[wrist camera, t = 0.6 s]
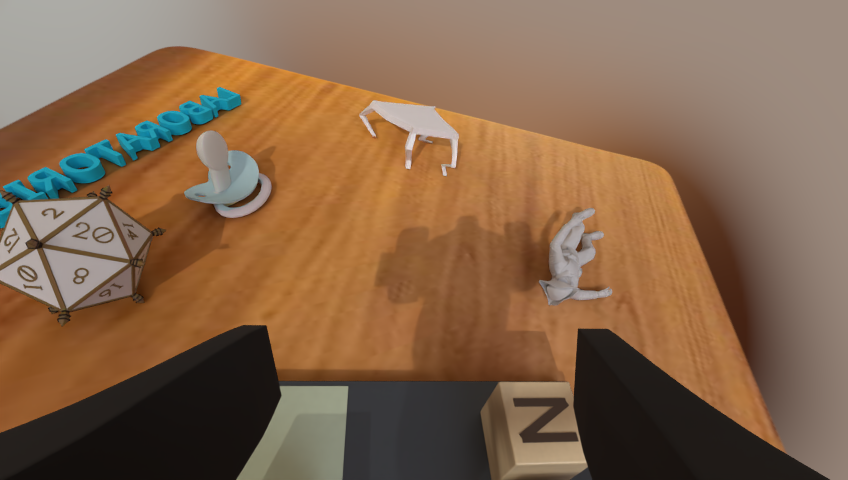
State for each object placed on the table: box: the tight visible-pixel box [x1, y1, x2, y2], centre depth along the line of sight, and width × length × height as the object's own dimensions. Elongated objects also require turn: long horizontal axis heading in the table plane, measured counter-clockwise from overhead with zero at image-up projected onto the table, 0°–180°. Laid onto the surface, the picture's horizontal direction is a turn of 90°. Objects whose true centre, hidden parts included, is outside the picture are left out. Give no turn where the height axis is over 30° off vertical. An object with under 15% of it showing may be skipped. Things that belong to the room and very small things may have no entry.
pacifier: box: [184, 131, 272, 218], centre depth 35 cm, size 7×6×6 cm
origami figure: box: [359, 100, 459, 176], centre depth 45 cm, size 12×8×5 cm
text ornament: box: [0, 87, 241, 228], centre depth 32 cm, size 45×3×1 cm, turn 156°
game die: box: [0, 185, 166, 326], centre depth 25 cm, size 9×8×10 cm
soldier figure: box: [539, 208, 612, 306], centre depth 35 cm, size 8×5×12 cm
